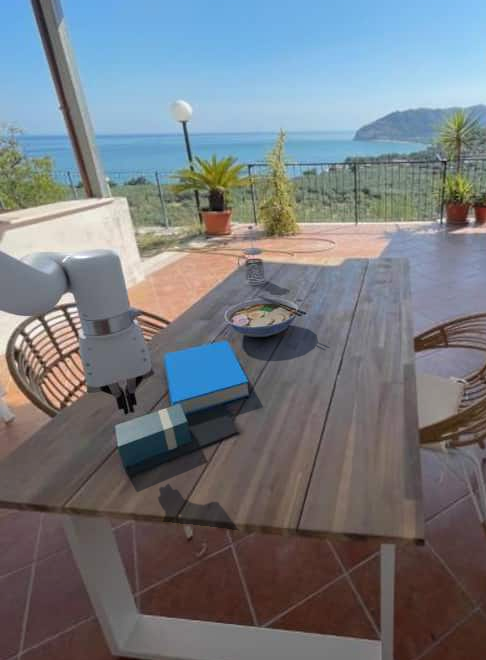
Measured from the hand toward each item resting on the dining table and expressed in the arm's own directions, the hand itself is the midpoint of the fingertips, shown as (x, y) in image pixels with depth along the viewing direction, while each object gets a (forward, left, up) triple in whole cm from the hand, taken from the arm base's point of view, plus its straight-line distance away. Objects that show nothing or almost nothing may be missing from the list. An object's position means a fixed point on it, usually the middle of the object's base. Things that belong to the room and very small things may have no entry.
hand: (128, 409), depth 73 cm
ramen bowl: (+40, +36, -10) cm, 55 cm away
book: (+17, +18, -10) cm, 27 cm away
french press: (+55, +86, -10) cm, 103 cm away
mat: (+8, 0, -10) cm, 13 cm away
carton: (-3, 0, -7) cm, 8 cm away
